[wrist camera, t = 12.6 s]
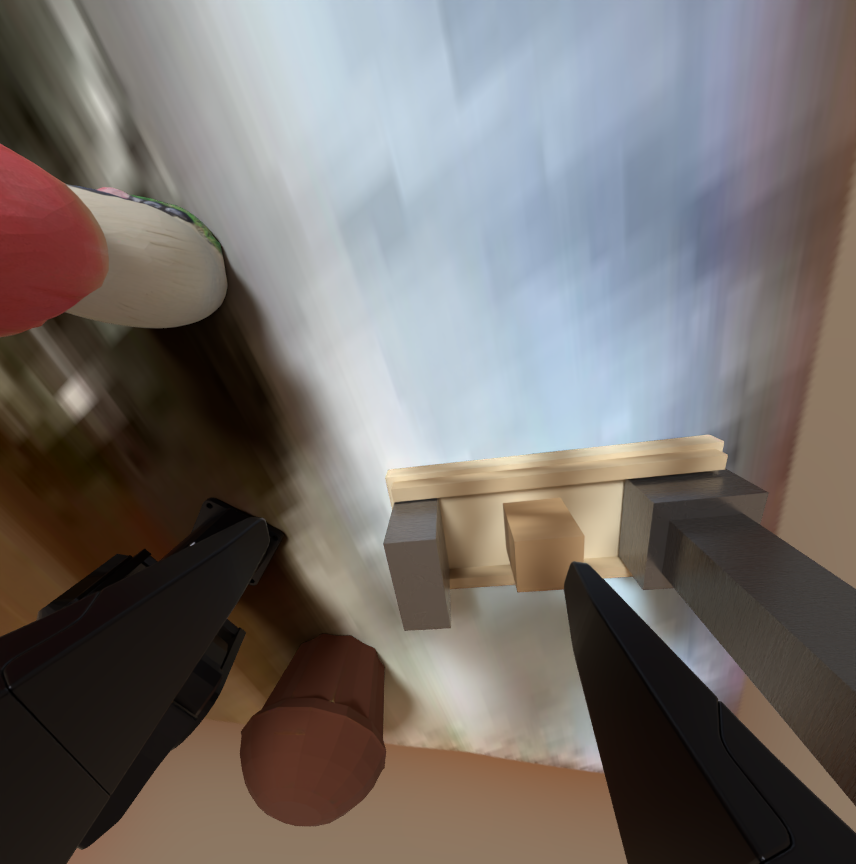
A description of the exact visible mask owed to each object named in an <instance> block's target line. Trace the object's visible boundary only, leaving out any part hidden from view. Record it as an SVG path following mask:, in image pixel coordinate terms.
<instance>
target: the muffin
mask: <svg viewBox="0 0 856 864" xmlns="http://www.w3.org/2000/svg"><path fill="white" fill-rule="evenodd" d="M384 670H385V667H384V666H383V664H382V663H381V661H380V660H379V658H378V655H377V652H376V650H375V648H373V647H370V646H368V645H366V644H364V643H362V642H360V641H359V640H357V639H356V638H354V637H353V636H351V635H329V634H321V635H319V636H318V637H316V638H315V639H313V640H310V641H308V642H305V643H302V644H301V646H300V647H299V649H298V650H297V652H296V654H295V655H294V657H293V659H292V660H291V662H290V664H289V665H288V667H287V669H286V670H285V672H284V673H283V675H282V677H281V678H280V680H279V682H278V683H277V685H276V687H275V688H274V690H273V692H272V693H271V695H270V696H269V698H268V700H267V701H266V703H265V705H264V706H263V708H262V710H260V711H259V712H257V713H256V714H255V715H253V716H252V717H251V719H250V720H249V721H248V723H247V724H246V725H245V727H244V728H243V729H242V731H241V735H242V738H241V748H240V758H241V766H242V772H243V776H244V780H245V784H246V786H247V788H248V791H249V793H250V795H251V796H252V798H253V799H254V801H255V802H256V804H257V805H258V807H259V808H260V809H262V810H263V811H264V812H265V813H266V814H267V815H269V816H271V817H273V818H275V819H277V820H279V821H281V822H284V823H286V824H291V825H295V826H319V825H323V824H328V823H331V822H332V821H334V820H336V819H338V818H339V817H341V816H343V815H344V814H346V813H347V812H348V811H350V810H351V809H352V808H353V807H355V806H356V805H357V804H358V803H360V802H361V801H362V800H363V799H364V798H365V797H366V796H367V794H368V793H369V792H370V791H371V790H372V788H373V787H374V785H375V783H376V781H377V779H378V777H379V775H380V773H381V772H382V770H383V769H384V766H385V757H386V749H385V745H384V741H383V711H384Z"/></svg>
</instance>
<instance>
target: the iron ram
mask: <svg viewBox="0 0 856 864" xmlns="http://www.w3.org/2000/svg"><path fill="white" fill-rule="evenodd" d="M767 497H768V492H766V491H765V490H763V489H761V488H759V487H757V486H756V485H754V484H752V483H750V482H748V481H747V480H745V479H743V478H741V477H739V476H738V475H736V474H734V473H732V472H730V471H729V470H727V469H724V470H714V471H704V472H694V473H683V474H673V475H663V476H653V477H643V478H633V479H625V488H624V500H623V511H622V523H621V535H620V547H619V557H620V558H621V560H622V561H623V563H624V564H625V565H626V567H627V568H628V570H629V571H630V572H631V574H632V575H633V577H634V578H635V579H636V581H637V582H638V584H639V585H640V586H641V588H642V589H643V590H648V589H664V588H674V589H675V590H676V591H677V592H678V593H679V595H680V596H681V597H682V598H683V599H684V601H685V602H686V603H687V604H688V605H689V607H690V608H691V609H692V610H693V611H694V613H695V614H696V615H697V616H698V617H699V619H700V620H701V621H702V622H703V623H704V625H705V626H706V627H707V628H708V629H709V631H710V632H711V633H712V634H713V635H714V637H715V638H716V639H717V640H718V641H719V643H720V644H721V645H722V646H723V647H724V649H725V650H726V651H727V652H728V653H729V655H730V656H731V657H732V658H733V659H734V661H735V662H736V663H737V664H738V665H739V667H740V668H741V669H742V670H743V671H744V673H745V674H746V675H747V676H748V677H749V679H750V680H751V681H752V682H753V683H754V685H755V686H756V687H757V688H758V689H759V690H760V692H761V693H762V694H763V695H764V697H765V698H766V699H767V700H768V701H769V703H770V704H771V705H772V706H773V707H774V709H775V710H776V711H777V712H778V713H779V715H780V716H781V717H782V718H783V719H784V721H785V722H786V723H787V724H788V725H789V727H790V728H791V729H792V730H793V731H794V733H795V734H796V735H797V736H798V737H799V739H800V740H801V741H802V742H803V743H804V745H805V746H806V747H807V748H808V749H809V751H810V752H811V753H812V754H813V755H814V757H815V758H816V759H817V760H818V761H819V763H820V764H821V765H822V766H823V767H824V769H825V770H826V771H827V772H828V773H829V775H830V776H831V777H832V778H833V779H834V781H836V783H837V784H838V785H839V787H840V788H841V789H842V790H843V791H844V793H845V794H846V795H847V796H848V797H849V799H850V800H851V801H852V802H853V803H854V805H855V806H856V589H855V588H853V587H852V586H850V585H849V584H847V583H846V582H844V581H843V580H841V579H840V578H838V577H837V576H835V575H834V574H832V573H831V572H830V571H828V570H827V569H825V568H824V567H822V566H821V565H819V564H817V563H816V562H815V561H813V560H812V559H810V558H809V557H807V556H806V555H804V554H803V553H801V552H800V551H798V550H797V549H795V548H794V547H792V546H791V545H789V544H788V543H786V542H785V541H783V540H782V539H780V538H779V537H778V536H776V535H775V534H773V533H772V532H770V531H769V530H767V529H766V528H764V527H763V526H761V525H760V523H761V519H762V515H763V512H764V508H765V504H766V501H767Z"/></svg>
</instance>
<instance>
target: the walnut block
mask: <svg viewBox="0 0 856 864" xmlns="http://www.w3.org/2000/svg"><path fill="white" fill-rule="evenodd" d="M503 514H504V528H505V541H506V550H507V554H508V558H509V562H510V565H511V569H512V573H513V577H514V581H515V585H516V588H517V592H531V591H546V590H561V589H564V582H565V579H566V575H567V572H568V569H569V566H570V564H571V562H573V561H576V562H583V563H584V542H585V536H584V534H583V532H582V531H581V529H580V528H579V526H578V524H577V523H576V521H575V520H574V518H573V516H572V515H571V513H570V512H569V510H568V508H567V507H566V505H565V504H564V502H563V501H562V499H561V498H551V499H541V500H530V501H520V502H509V503H503Z"/></svg>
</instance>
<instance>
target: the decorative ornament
mask: <svg viewBox="0 0 856 864" xmlns="http://www.w3.org/2000/svg"><path fill="white" fill-rule="evenodd" d="M227 286H228V284H227V278H226V272H225V266H224V260H223V255H222V250H221V244H220V243H219V242H218V241H217V240H216V239H215V238H214V237H213V235H212V233H211V231H210V230H209V229H208V228H207V227H206V226H205V225H204V224H203V223H202V222H201V221H200V220H199V219H198V218H196V217H195V216H194V215H193V214H191V213H190V212H188V211H186V210H184V209H183V208H181V207H178V206H176V205H172V204H168V203H164V202H161V201H158V200H154V199H150V198H145V197H139V196H135V195H130V194H127V193H125V192H123V191H121V190H118V189H115V188H111V187H109V188H100V189H98V190H95V189H90V188H85V187H80V186H72V185H68V184H65V183H63V182H62V181H60V180H58V179H57V178H55V177H54V176H52V175H51V174H49V173H48V172H46V171H45V170H43V169H42V168H40V167H39V166H37V165H36V164H34V163H33V162H31V161H29V160H28V159H26V158H24V157H22V156H21V155H19V154H17V153H15V152H14V151H12V150H10V149H8V148H7V147H5V146H3V145H1V144H0V337H5V336H11V335H15V334H18V333H21V332H24V331H26V330H29V329H31V328H35V327H39V326H42V325H43V324H44V323H45V322H46V321H47V319H50V318H53V317H56V316H58V315H60V314H62V313H63V312H67V313H70V314H74V315H77V316H81V317H84V318H88V319H92V320H96V321H101V322H105V323H111V324H117V325H124V326H133V327H143V328H170V327H178V326H183V325H187V324H191V323H194V322H198V321H200V320H202V319H204V318H206V317H208V316H209V315H211V314H212V313H213V312H214V311H215V310H217V309H218V308H219V307H220V306H221V304H222V302H223V300H224V298H225V296H226V291H227Z"/></svg>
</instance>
